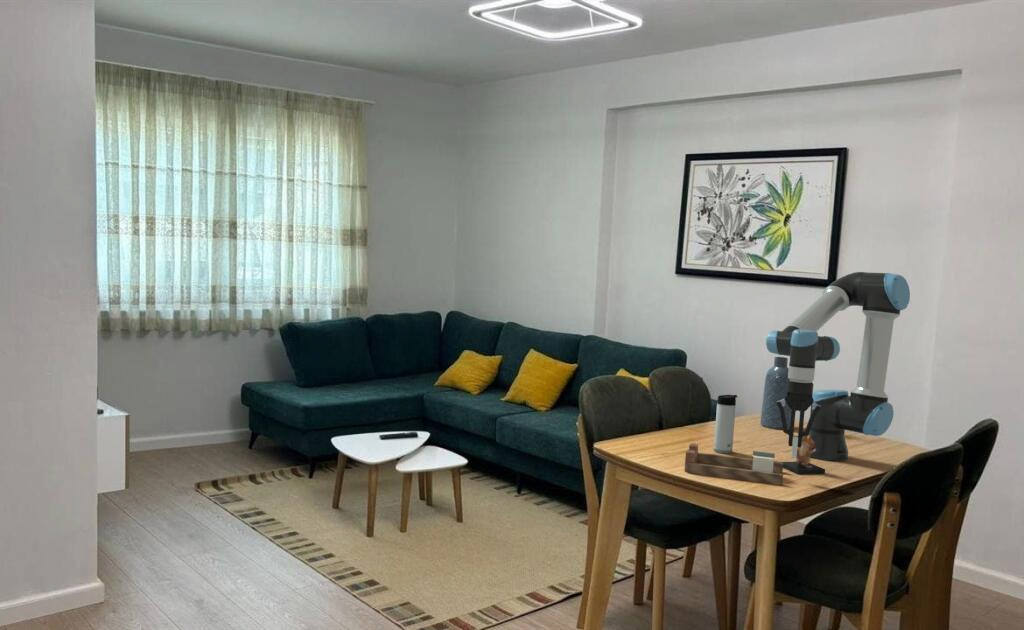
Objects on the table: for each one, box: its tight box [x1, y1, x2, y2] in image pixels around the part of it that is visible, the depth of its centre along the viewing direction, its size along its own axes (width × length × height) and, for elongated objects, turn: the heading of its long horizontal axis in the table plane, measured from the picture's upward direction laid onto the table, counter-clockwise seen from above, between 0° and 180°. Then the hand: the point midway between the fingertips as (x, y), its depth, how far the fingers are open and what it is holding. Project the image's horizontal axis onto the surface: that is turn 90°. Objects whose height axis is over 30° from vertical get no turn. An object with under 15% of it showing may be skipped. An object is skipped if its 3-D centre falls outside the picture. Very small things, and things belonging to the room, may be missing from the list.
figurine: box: [780, 435, 826, 475], centre depth 272 cm, size 10×10×12 cm
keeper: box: [751, 450, 776, 473], centre depth 262 cm, size 6×6×7 cm
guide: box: [684, 443, 784, 486], centre depth 264 cm, size 29×17×6 cm, turn 72°
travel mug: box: [713, 394, 738, 455], centre depth 292 cm, size 6×7×20 cm
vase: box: [759, 356, 791, 430], centre depth 342 cm, size 12×12×28 cm
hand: (793, 457), depth 258 cm, fingers closed
